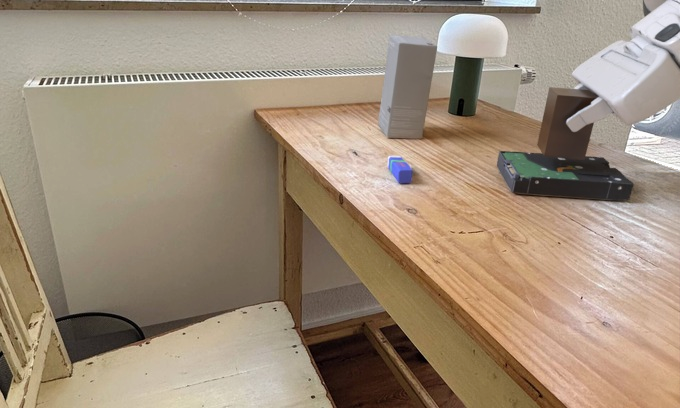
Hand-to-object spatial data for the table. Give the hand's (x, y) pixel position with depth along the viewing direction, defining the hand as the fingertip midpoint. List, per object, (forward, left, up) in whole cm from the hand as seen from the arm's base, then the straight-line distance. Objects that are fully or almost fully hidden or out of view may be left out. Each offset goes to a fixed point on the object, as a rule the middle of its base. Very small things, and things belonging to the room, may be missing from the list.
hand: (562, 120), depth 66 cm
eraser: (+20, -2, -9) cm, 22 cm away
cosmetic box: (+16, -23, -9) cm, 29 cm away
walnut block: (-1, 0, -4) cm, 4 cm away
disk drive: (-1, 0, -9) cm, 9 cm away
